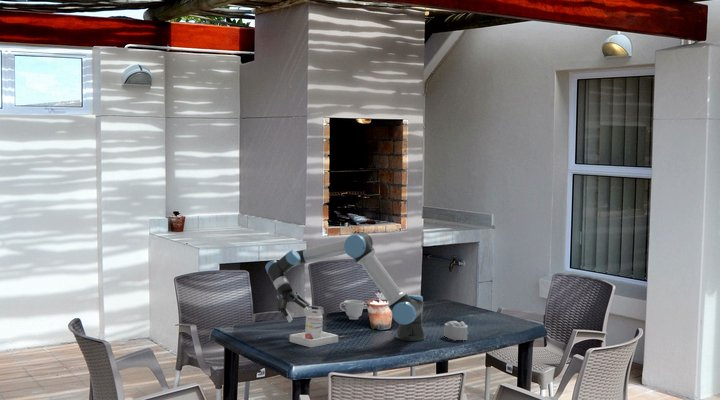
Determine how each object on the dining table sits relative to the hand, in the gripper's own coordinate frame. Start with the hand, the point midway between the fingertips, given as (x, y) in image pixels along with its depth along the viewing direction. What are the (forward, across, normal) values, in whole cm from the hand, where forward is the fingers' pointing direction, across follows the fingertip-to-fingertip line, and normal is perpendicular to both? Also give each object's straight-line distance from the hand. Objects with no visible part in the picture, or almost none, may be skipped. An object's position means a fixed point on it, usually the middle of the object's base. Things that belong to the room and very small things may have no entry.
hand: (300, 319), depth 464 cm
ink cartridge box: (+13, 0, +1) cm, 13 cm away
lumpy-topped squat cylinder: (+42, -67, +28) cm, 84 cm away
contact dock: (+14, 0, 0) cm, 14 cm away
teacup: (-7, -57, -22) cm, 61 cm away
